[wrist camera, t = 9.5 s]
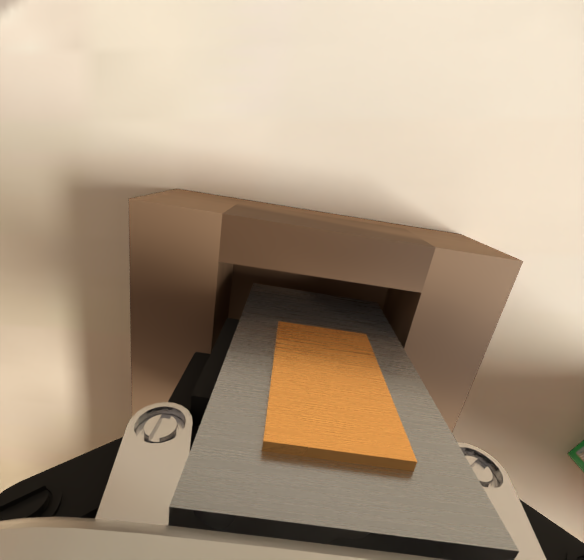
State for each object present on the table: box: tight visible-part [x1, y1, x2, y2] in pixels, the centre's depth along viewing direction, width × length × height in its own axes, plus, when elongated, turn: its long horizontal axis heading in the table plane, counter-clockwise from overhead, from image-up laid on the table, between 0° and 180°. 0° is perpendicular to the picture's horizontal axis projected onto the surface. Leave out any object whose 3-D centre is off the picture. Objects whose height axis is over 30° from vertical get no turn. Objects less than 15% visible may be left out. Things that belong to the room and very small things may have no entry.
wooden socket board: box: [129, 189, 523, 432], centre depth 15 cm, size 22×12×4 cm, turn 171°
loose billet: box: [168, 283, 519, 560], centre depth 9 cm, size 5×4×8 cm
